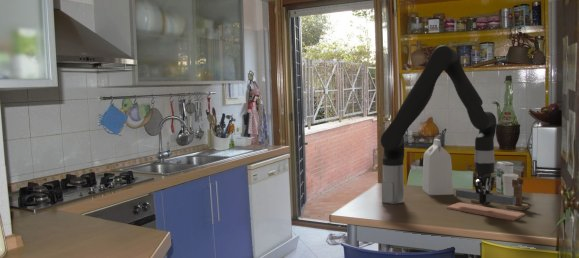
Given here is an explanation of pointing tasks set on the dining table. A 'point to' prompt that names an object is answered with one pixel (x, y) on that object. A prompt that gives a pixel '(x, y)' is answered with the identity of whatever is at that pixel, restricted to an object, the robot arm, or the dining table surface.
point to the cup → (508, 184)
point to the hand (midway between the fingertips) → (484, 202)
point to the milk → (437, 170)
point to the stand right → (518, 195)
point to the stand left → (476, 200)
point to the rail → (487, 197)
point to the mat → (486, 211)
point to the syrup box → (503, 169)
